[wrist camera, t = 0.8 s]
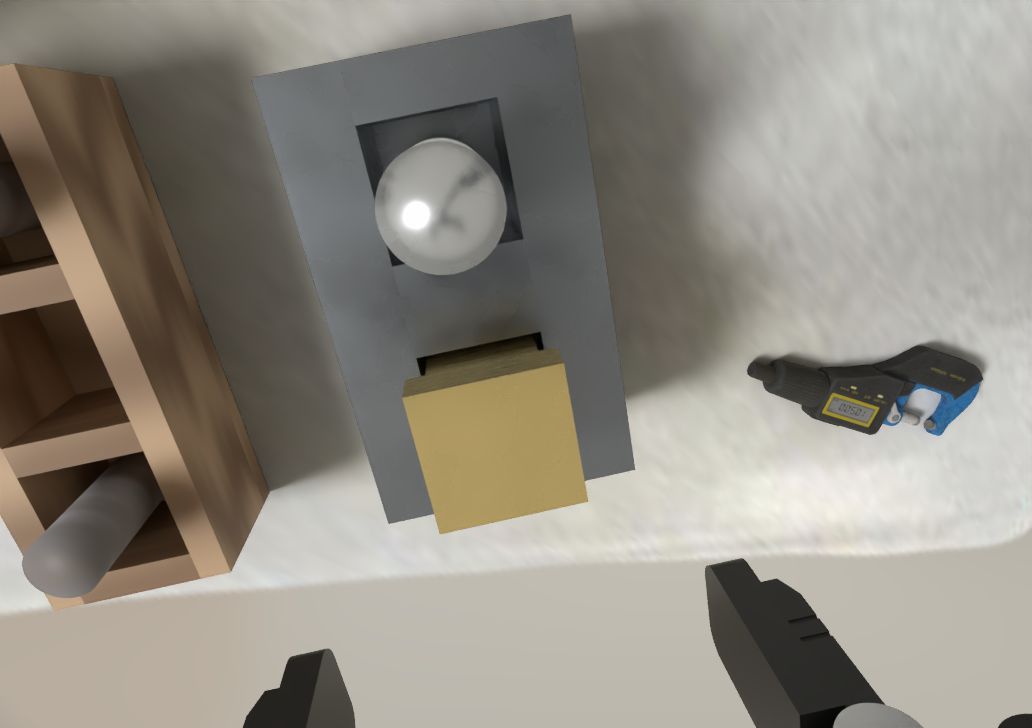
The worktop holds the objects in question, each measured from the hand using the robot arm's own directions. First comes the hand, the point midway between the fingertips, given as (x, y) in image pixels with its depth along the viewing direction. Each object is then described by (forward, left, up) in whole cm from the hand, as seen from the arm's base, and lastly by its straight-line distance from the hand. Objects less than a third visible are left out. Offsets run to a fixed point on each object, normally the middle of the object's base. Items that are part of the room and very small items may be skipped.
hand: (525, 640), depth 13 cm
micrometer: (-18, +6, -19) cm, 27 cm away
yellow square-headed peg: (0, 0, -15) cm, 15 cm away
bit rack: (+15, -5, -18) cm, 24 cm away
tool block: (0, -4, -18) cm, 19 cm away
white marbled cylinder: (0, -8, -17) cm, 19 cm away
